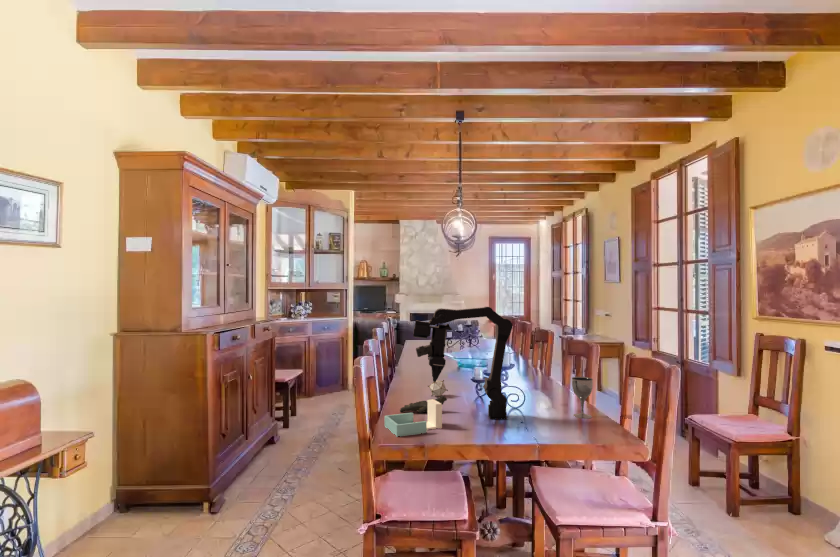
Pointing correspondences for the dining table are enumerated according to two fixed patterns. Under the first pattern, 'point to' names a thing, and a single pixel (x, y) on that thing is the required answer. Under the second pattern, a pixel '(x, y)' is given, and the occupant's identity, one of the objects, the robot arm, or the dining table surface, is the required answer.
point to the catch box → (404, 425)
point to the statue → (421, 405)
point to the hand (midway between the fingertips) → (433, 379)
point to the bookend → (434, 414)
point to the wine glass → (582, 392)
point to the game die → (437, 388)
